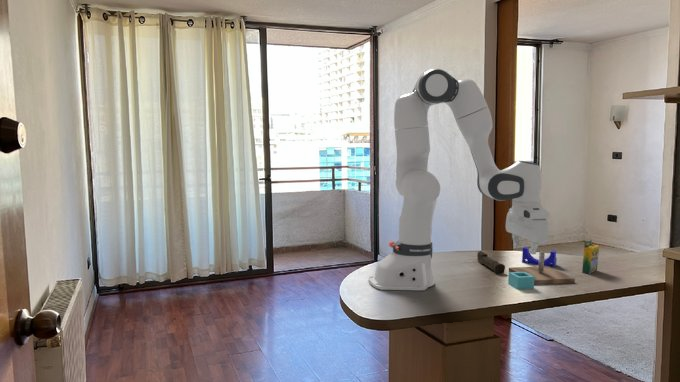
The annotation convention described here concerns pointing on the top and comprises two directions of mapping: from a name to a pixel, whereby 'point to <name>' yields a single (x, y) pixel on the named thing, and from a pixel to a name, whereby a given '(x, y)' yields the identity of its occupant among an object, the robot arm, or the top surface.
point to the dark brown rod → (490, 263)
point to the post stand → (544, 273)
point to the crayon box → (590, 258)
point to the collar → (521, 280)
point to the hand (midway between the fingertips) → (524, 250)
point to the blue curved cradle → (532, 260)
